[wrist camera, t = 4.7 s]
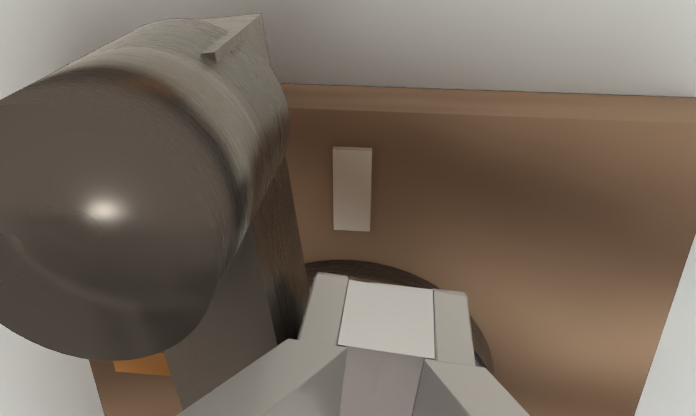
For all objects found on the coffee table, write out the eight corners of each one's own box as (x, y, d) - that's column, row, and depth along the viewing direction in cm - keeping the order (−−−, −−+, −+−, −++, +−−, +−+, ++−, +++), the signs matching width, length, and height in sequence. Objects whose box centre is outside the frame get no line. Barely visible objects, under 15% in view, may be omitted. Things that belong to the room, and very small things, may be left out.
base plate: (571, 517, 24) (584, 571, 22) (153, 475, 26) (131, 523, 24) (697, 97, 16) (735, 127, 14) (55, 76, 17) (10, 99, 15)
